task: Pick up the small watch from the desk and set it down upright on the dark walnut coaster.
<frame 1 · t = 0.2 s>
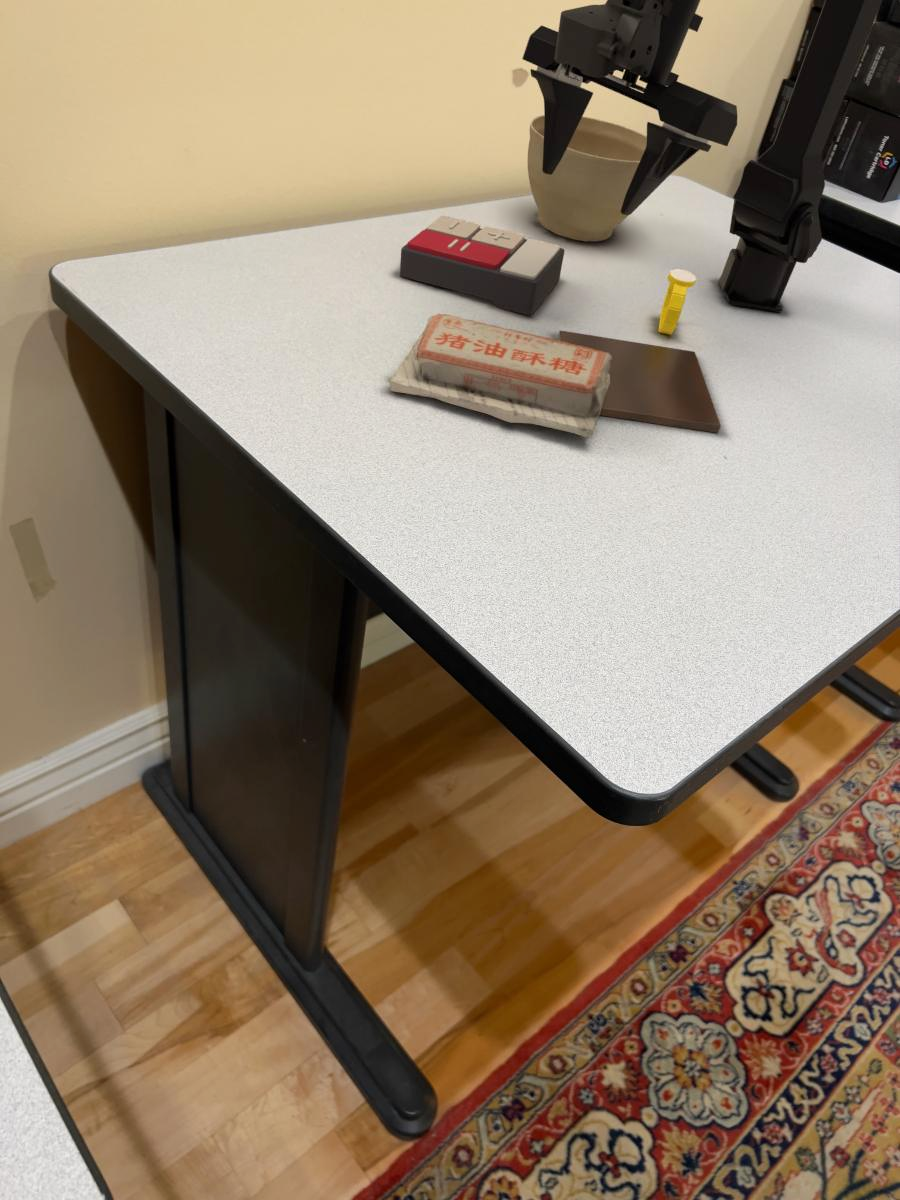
hand: (584, 193, 76), 15 cm above the table, tool pointing down, fingers open, 9 cm apart
coaster: (633, 382, 85), on the table
calculator: (480, 280, 97), on the table
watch: (664, 330, 95), on the table
planter bowl: (574, 229, 112), on the table
packaged product: (501, 392, 79), on the table, touching coaster
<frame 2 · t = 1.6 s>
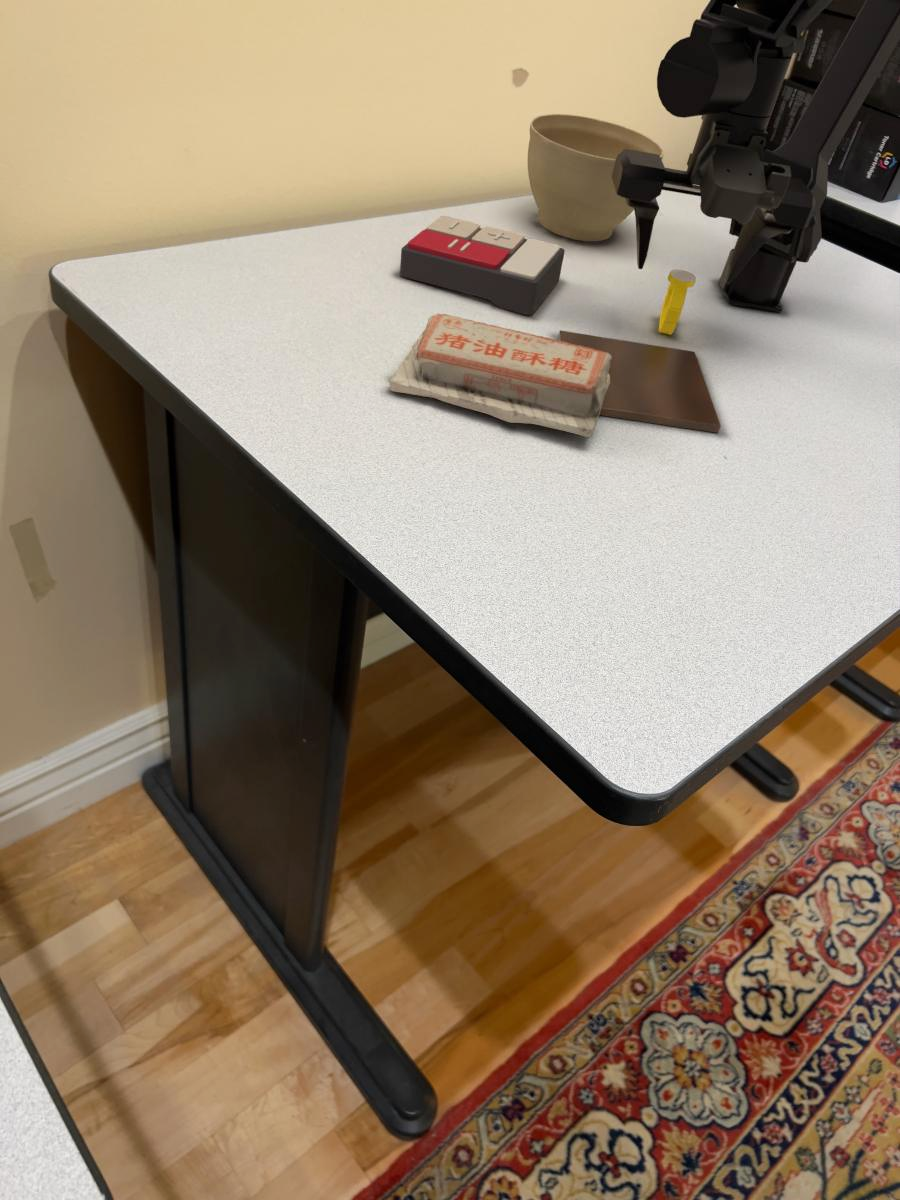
hand: (683, 274, 91), 6 cm above the table, tool pointing down, fingers open, 9 cm apart
nothing on the table moved.
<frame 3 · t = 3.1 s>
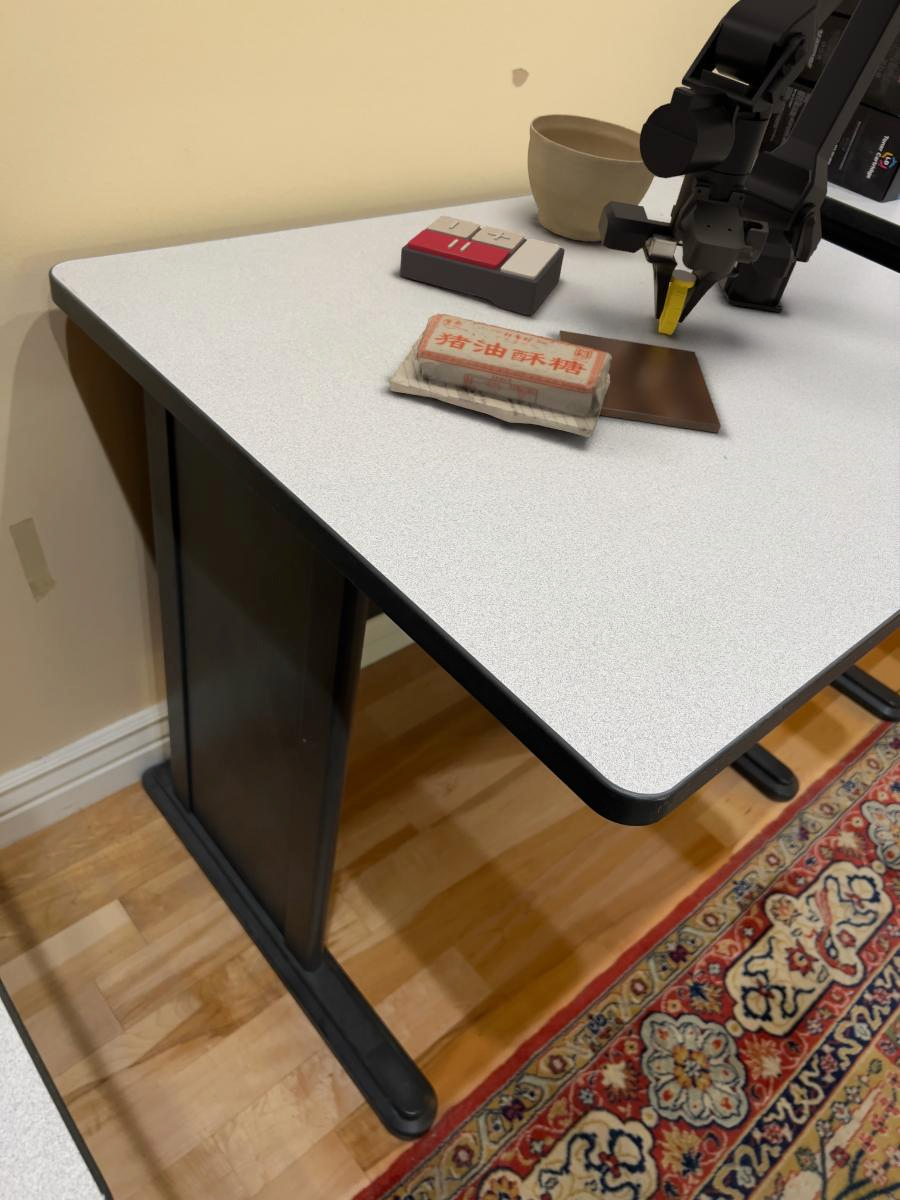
hand: (667, 319, 94), 1 cm above the table, tool pointing down, fingers closed on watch, 2 cm apart
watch: (664, 330, 95), on the table, touching gripper
everything else where it was.
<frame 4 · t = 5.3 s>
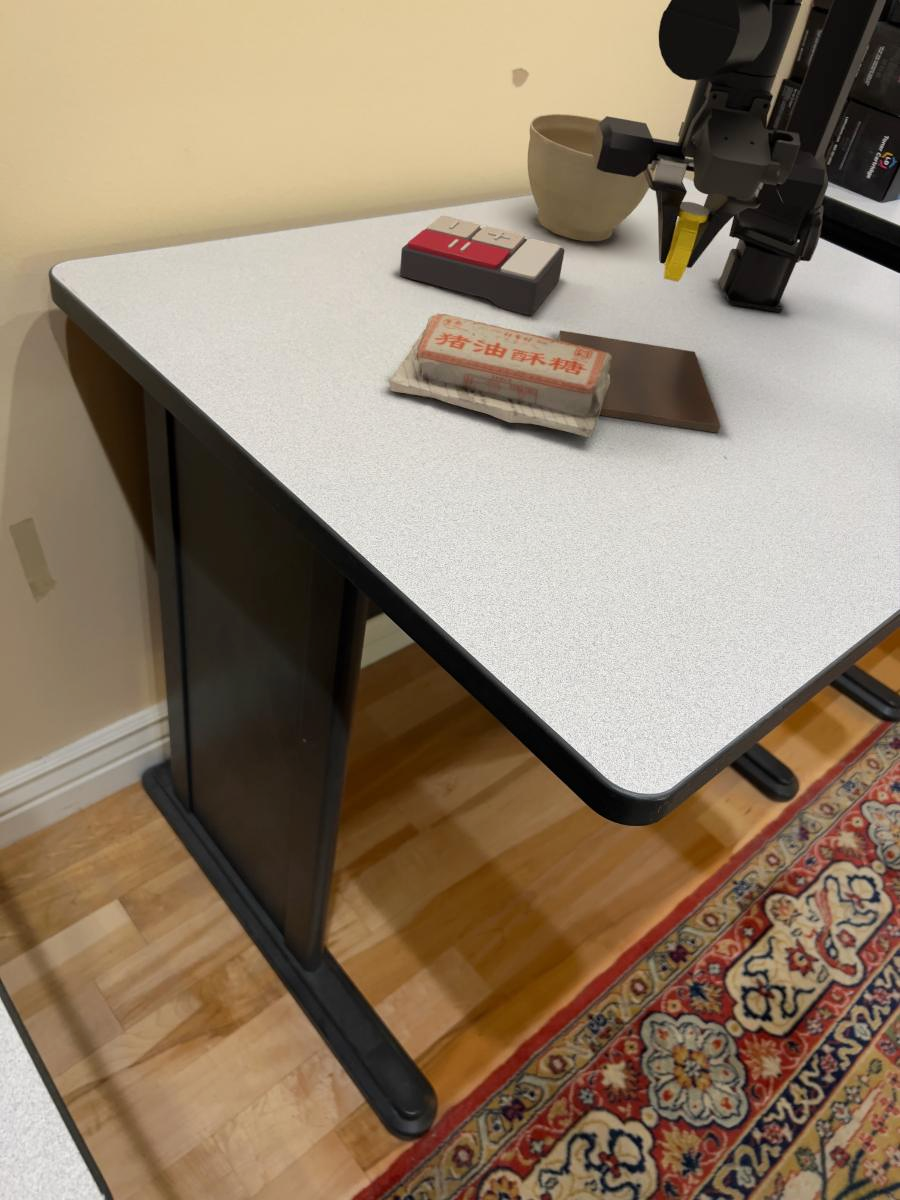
hand: (674, 263, 79), 11 cm above the table, tool pointing down, fingers closed on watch
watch: (670, 276, 80), point 10 cm above the table, touching gripper
everything else where it was.
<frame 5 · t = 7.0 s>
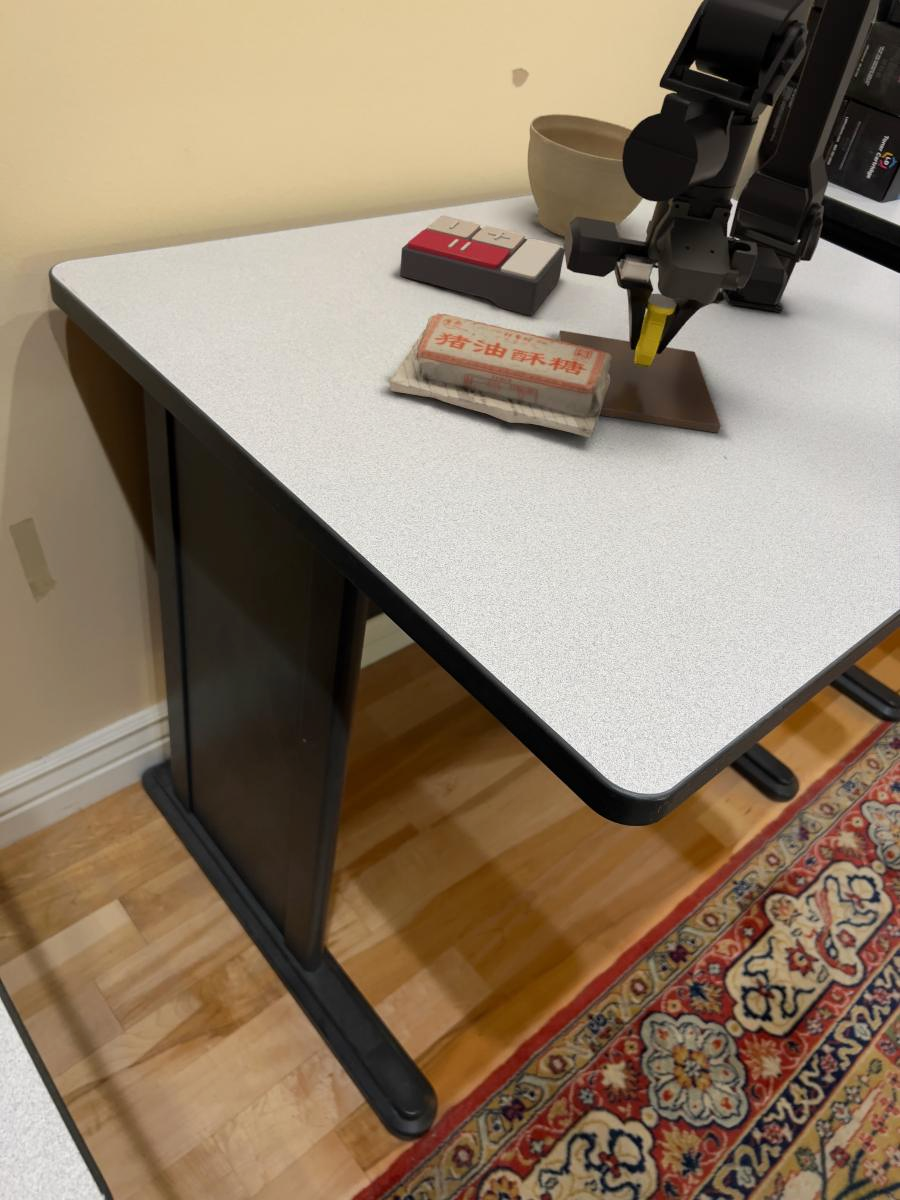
hand: (644, 350, 82), 3 cm above the table, tool pointing down, fingers closed on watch, 2 cm apart
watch: (640, 361, 83), point 2 cm above the table, touching gripper
everything else where it was.
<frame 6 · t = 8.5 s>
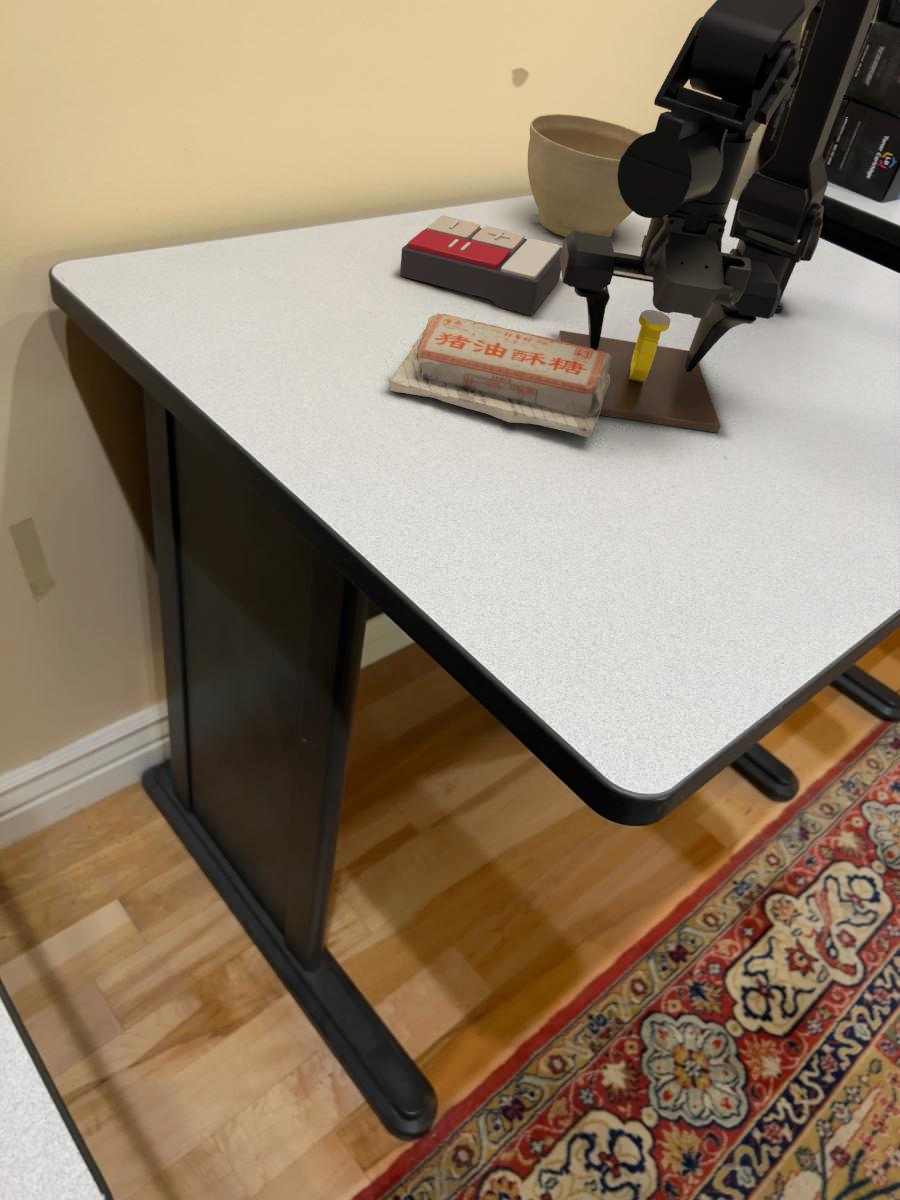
hand: (639, 362, 83), 2 cm above the table, tool pointing down, fingers open, 9 cm apart
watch: (635, 376, 84), point 1 cm above the table, touching coaster
everything else where it was.
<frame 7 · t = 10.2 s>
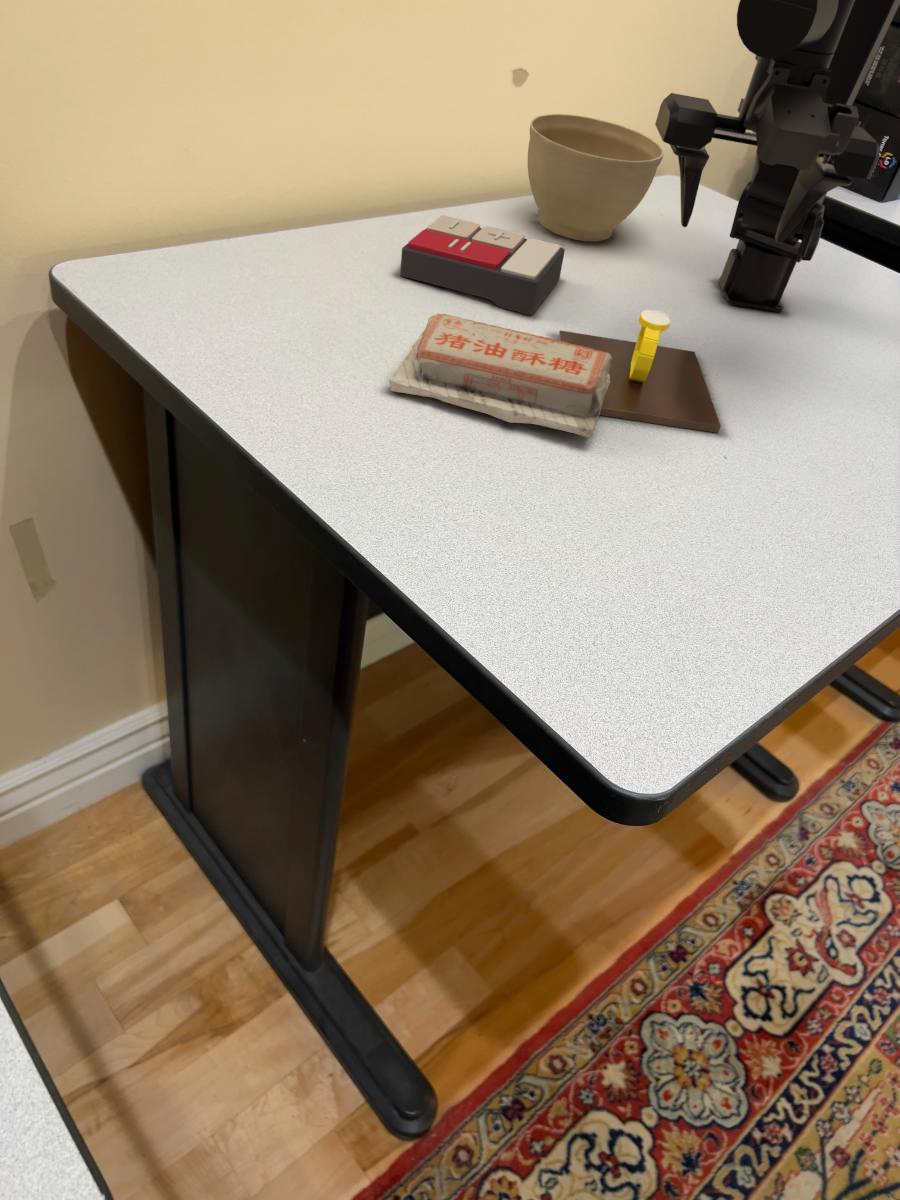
hand: (730, 233, 84), 12 cm above the table, tool pointing down, fingers open, 9 cm apart
nothing on the table moved.
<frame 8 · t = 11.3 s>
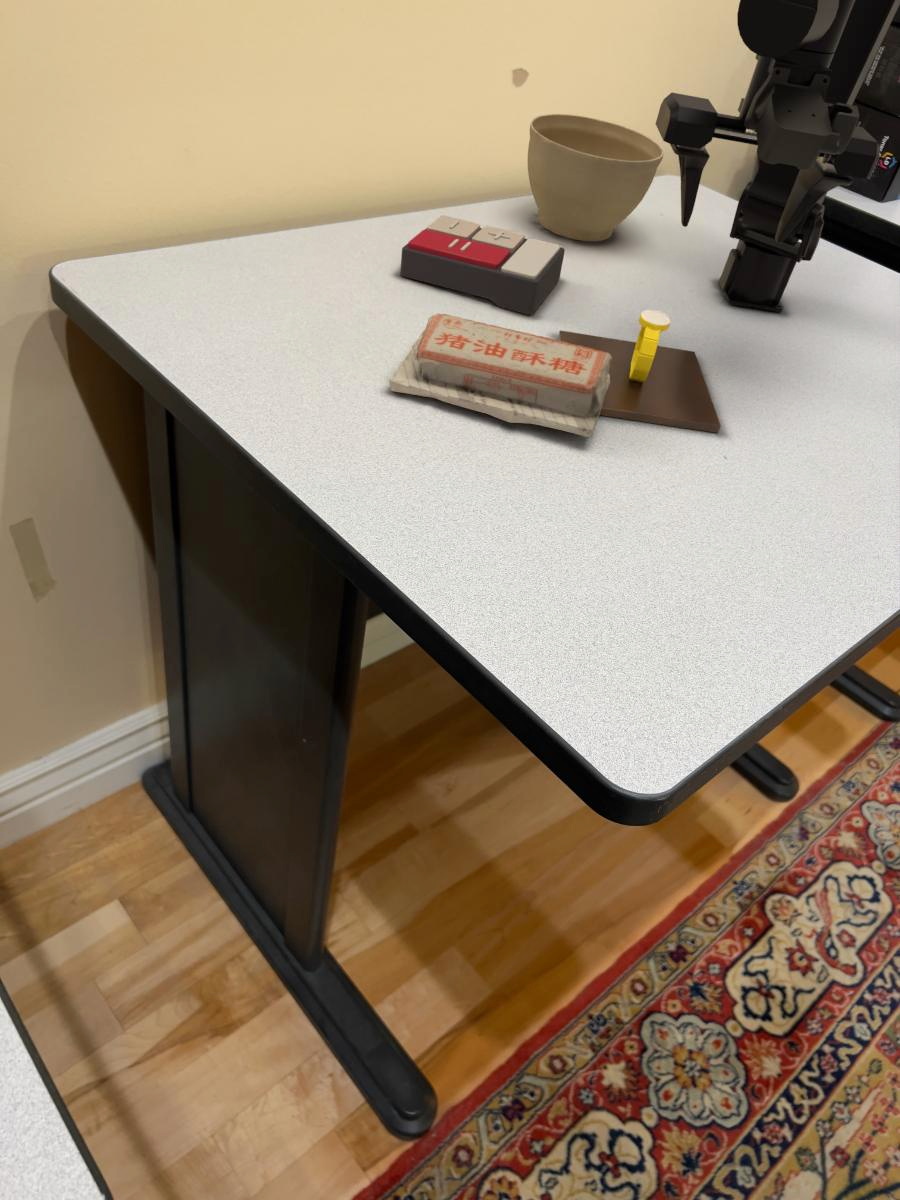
hand: (731, 233, 84), 12 cm above the table, tool pointing down, fingers open, 9 cm apart
nothing on the table moved.
at the end: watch inside the target area on the coaster (0.1 cm from its centre), point 0.6 cm above the coaster's base; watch tilted 0°; the gripper is holding nothing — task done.
